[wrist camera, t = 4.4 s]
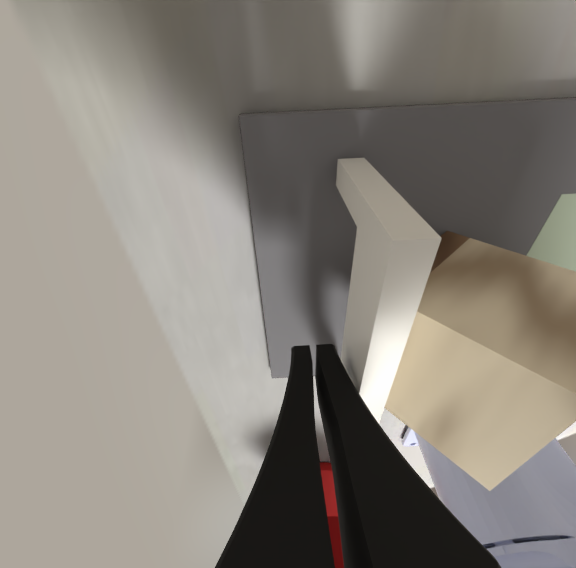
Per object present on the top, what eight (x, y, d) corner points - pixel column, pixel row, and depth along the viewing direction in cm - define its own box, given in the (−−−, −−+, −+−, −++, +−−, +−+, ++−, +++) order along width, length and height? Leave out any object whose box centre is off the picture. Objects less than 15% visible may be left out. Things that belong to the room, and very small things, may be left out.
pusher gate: (363, 157, 11) (441, 238, 6) (338, 365, 19) (361, 474, 14) (337, 158, 11) (392, 241, 6) (323, 366, 19) (341, 475, 14)
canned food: (296, 458, 30) (305, 616, 22) (363, 463, 32) (396, 612, 23) (277, 483, 35) (278, 622, 26) (337, 486, 36) (356, 619, 28)
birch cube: (447, 230, 13) (626, 287, 10) (415, 321, 17) (536, 387, 13) (372, 288, 10) (596, 404, 6) (354, 383, 14) (489, 491, 10)
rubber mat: (929, 80, 11) (961, 81, 10) (628, 351, 20) (636, 358, 20) (240, 113, 10) (238, 116, 10) (271, 370, 20) (271, 378, 20)
